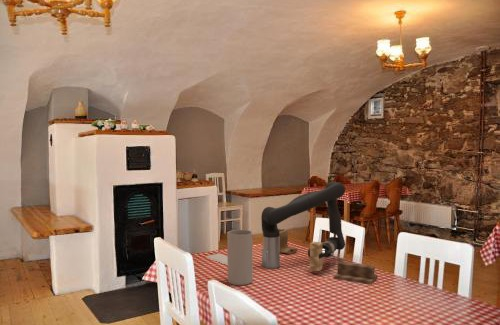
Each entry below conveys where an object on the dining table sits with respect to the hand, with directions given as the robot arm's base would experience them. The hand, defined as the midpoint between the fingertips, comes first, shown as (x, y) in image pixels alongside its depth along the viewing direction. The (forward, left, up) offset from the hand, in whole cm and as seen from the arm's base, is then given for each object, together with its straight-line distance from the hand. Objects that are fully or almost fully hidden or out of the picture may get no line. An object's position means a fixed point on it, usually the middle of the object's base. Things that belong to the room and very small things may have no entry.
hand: (314, 255), depth 235 cm
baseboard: (-33, +43, -11) cm, 56 cm away
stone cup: (+6, +49, -10) cm, 50 cm away
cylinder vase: (-40, +6, -10) cm, 41 cm away
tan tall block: (+2, +2, -8) cm, 8 cm away
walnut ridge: (+16, -13, -10) cm, 23 cm away
